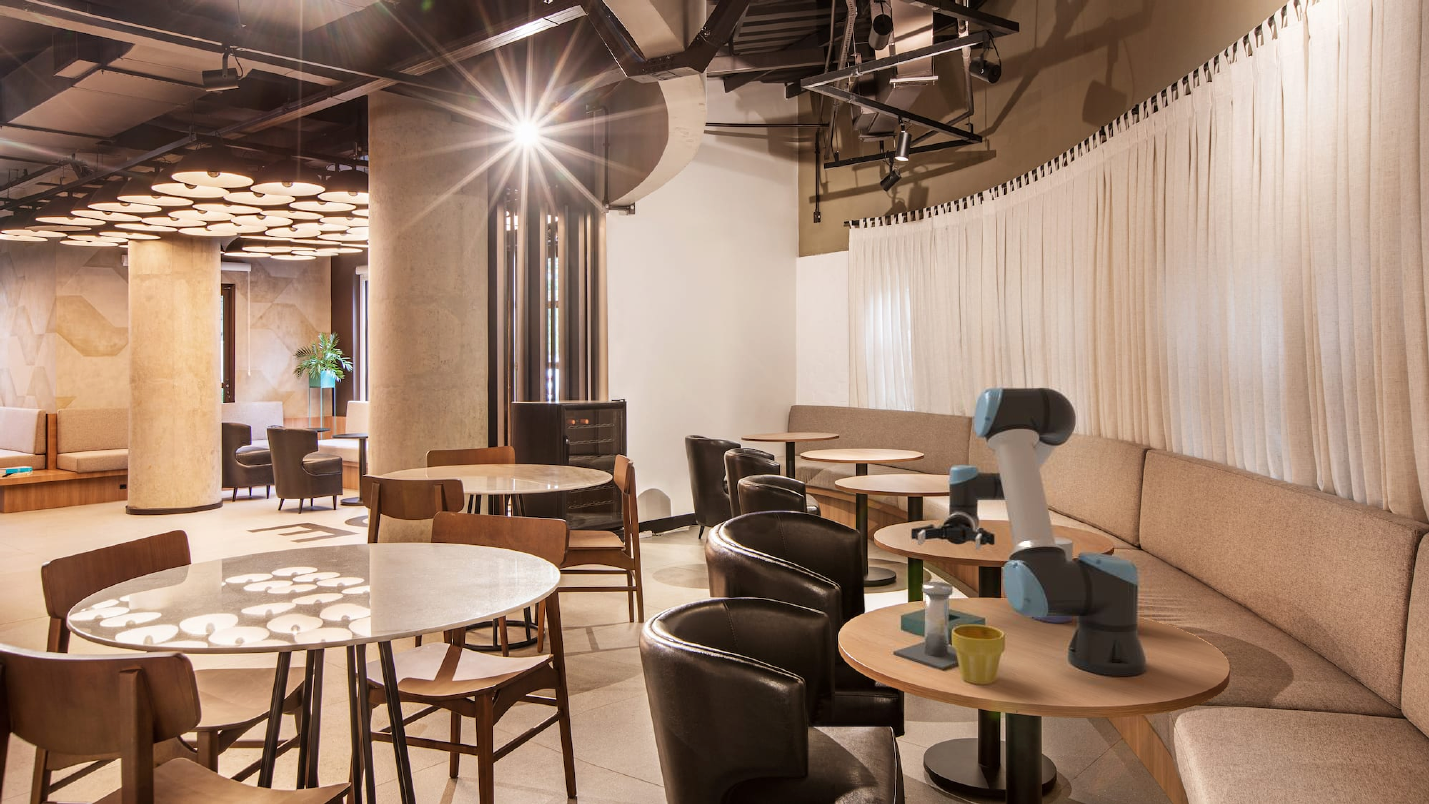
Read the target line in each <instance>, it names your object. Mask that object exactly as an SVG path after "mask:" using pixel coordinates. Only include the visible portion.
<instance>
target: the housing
mask: <svg viewBox="0 0 1429 804" xmlns="http://www.w3.org/2000/svg"><path fill="white" fill-rule="evenodd" d="M961 625H984V626H986V617H982V616H979V615H975V614H972V613H971V614H970V613H966V612H963V611H960V610H956V609H951V608H949V627H948V645H952V629H953V628H955V627H957V626H961ZM900 630H901V631H904V632H907V633H910V634H914V635H916V636H921V637H924V638H925V608H923V609H920V610H914V611H912V612H909V613H905V614H901V615H900Z"/></svg>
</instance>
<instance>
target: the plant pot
mask: <svg viewBox="0 0 1429 804" xmlns="http://www.w3.org/2000/svg"><path fill="white" fill-rule="evenodd" d="M951 646H952V647H953V648H954V649H955V650H956V654H957V659H958V663H959V665H958V668H959V671H960V672H959V674H960V677H961V679H962V680H963V681H964V682H966V681H967V683H969V684H973V685H991V684H993V683H994V682H995V681H996V680H997V675H998V670H999V665H1000V660H1001V655H1002V654H1003V653H1004V652H1005V649H1006V634H1005V632H1004V631H1003V630H1001V629H999V628H997V627H993V626H989V625H985V626H984V625H961V626H957V627H955V628H953V629H952V644H951Z"/></svg>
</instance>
